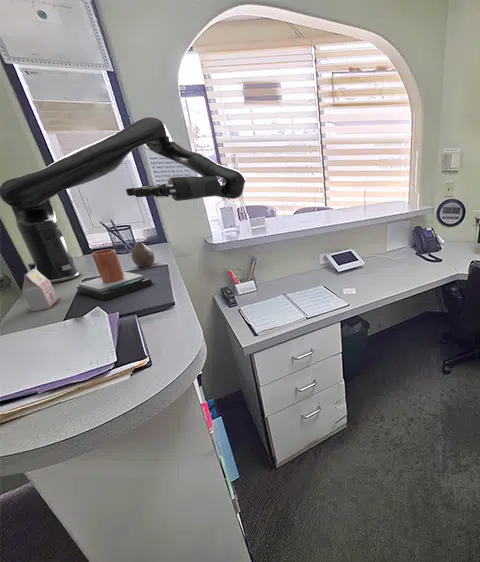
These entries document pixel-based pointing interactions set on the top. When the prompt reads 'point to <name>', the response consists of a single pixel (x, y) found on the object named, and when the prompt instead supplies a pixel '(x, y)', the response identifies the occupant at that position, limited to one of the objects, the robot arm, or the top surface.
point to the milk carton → (38, 291)
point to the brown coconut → (142, 255)
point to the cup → (108, 265)
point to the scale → (113, 286)
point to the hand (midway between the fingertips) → (130, 192)
